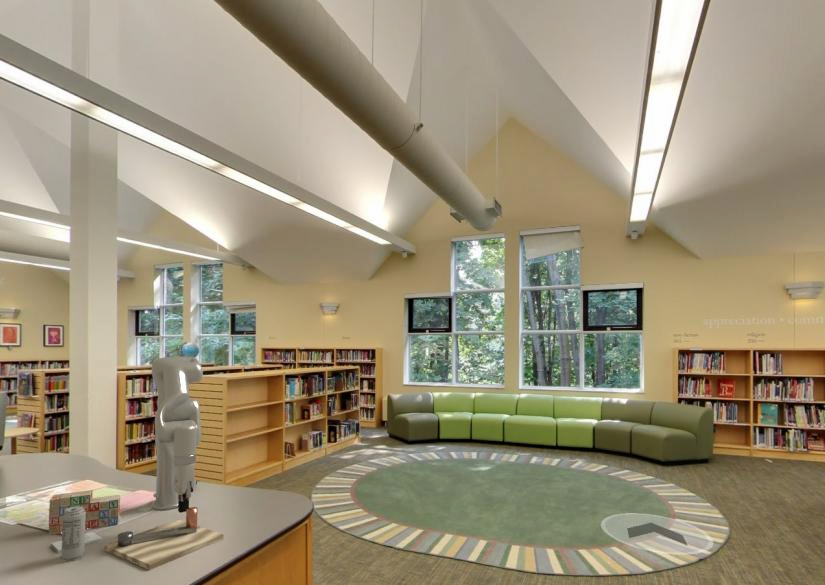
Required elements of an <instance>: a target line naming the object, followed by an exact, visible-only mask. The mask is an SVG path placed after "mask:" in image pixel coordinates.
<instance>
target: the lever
mask: <svg viewBox="0 0 825 585" xmlns="http://www.w3.org/2000/svg"><path fill="white" fill-rule="evenodd" d="M185 522H186V526H184V527H179V528H173V529H168V530H162V531H157V532H151V533H146V534H140V535H135V534H134V532H133V531H128V530H127V531H123V532H120V533H118V535H117V541H118V544H117V545H118V546H127V545H130V544H134V543H139V542H144V541H149V540H155V539H160V538H165V537H170V536H176V535H181V534H186V533H191V532H197V526H198V507H197V506H189V508H187V509H186V512H185ZM133 535H135V536H133Z"/></svg>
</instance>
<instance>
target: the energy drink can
mask: <svg viewBox="0 0 825 585" xmlns="http://www.w3.org/2000/svg"><path fill="white" fill-rule="evenodd" d="M83 508H84V507H83V506H75V507H71V508H68V509H66V510H65V511H66V512H65V513H64V515H63V527H62V533H61V535H62V536H61V540H62V552H61V558H62V559H63V561H65V562H72V561H76V560H78V559H80V558H82V557H83V555H84V554H85V546H86V545H85V534H86V529H85V517H86V512H85V510H84V509H83Z"/></svg>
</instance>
